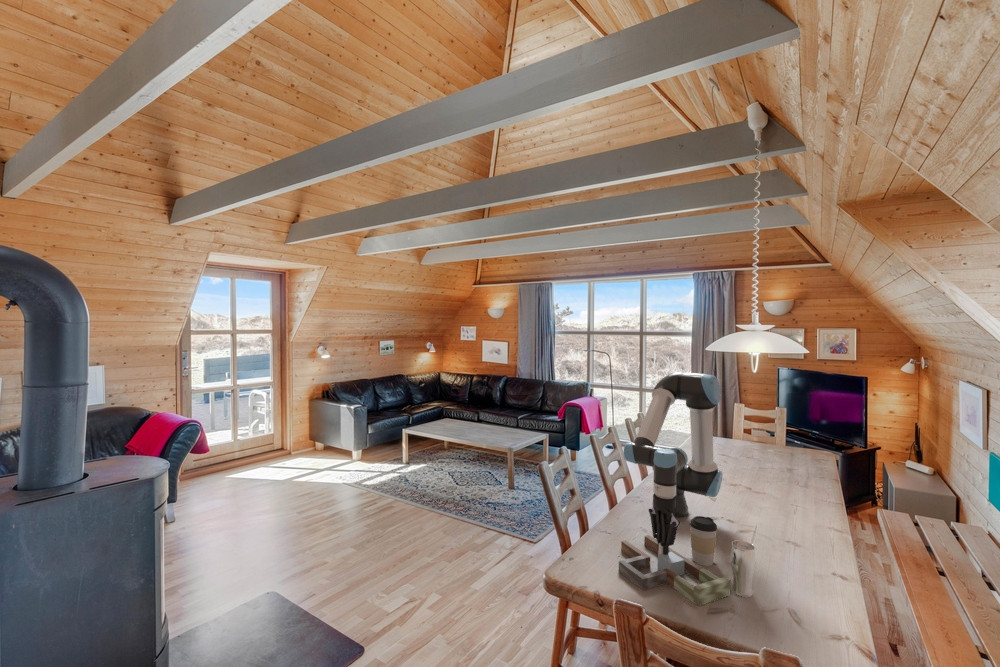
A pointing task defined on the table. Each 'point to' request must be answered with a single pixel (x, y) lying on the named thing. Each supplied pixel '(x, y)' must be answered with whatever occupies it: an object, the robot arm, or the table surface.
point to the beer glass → (742, 567)
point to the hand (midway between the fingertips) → (662, 561)
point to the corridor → (672, 575)
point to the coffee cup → (703, 539)
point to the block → (671, 563)
